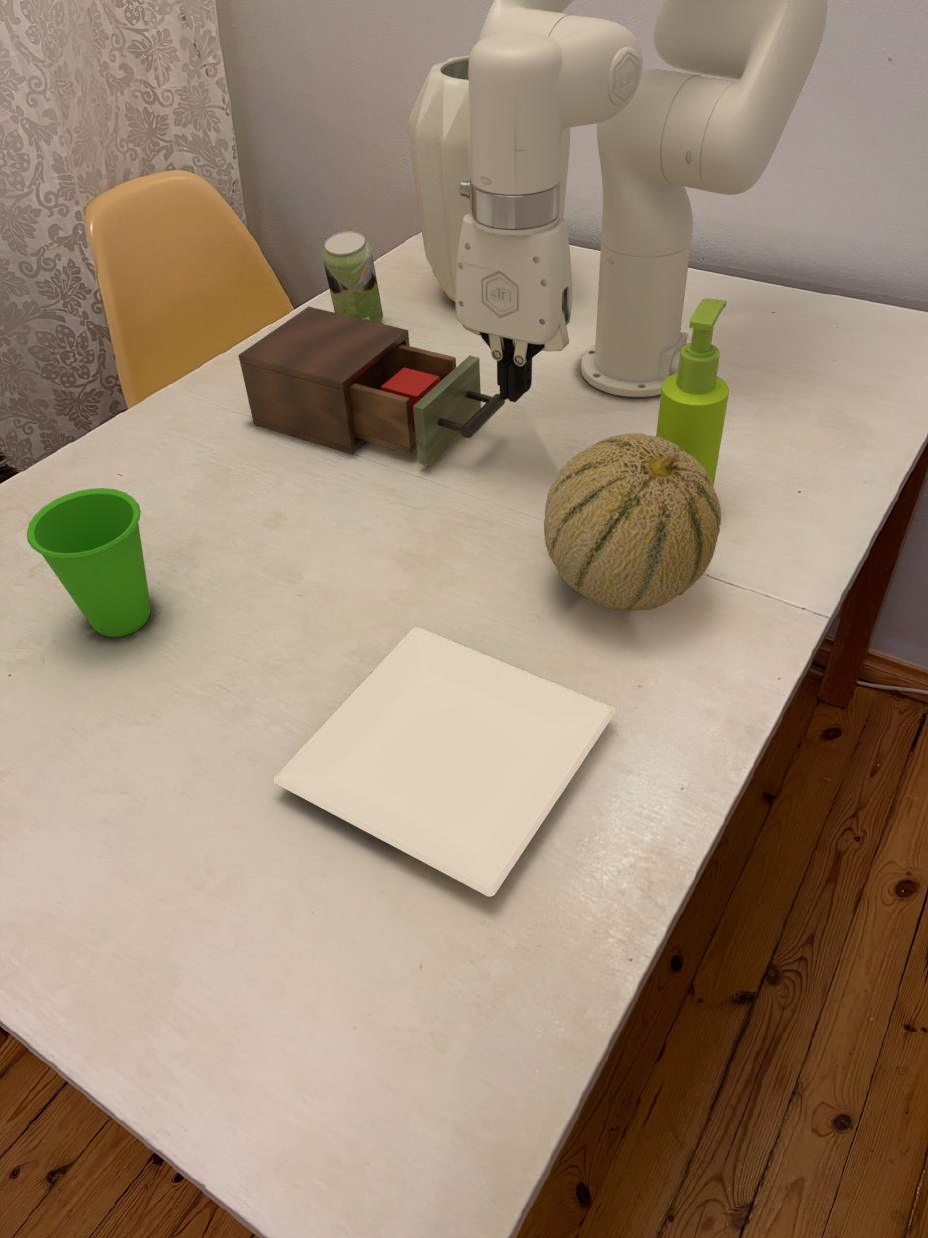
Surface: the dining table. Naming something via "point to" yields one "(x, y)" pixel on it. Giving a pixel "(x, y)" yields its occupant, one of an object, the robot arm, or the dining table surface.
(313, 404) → the cabinet
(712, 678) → the dining table surface
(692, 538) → the cantaloupe
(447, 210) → the vase
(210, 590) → the dining table surface
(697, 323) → the soap dispenser
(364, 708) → the plate
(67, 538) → the cup
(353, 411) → the drawer
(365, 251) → the beverage can
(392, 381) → the block
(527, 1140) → the dining table surface
